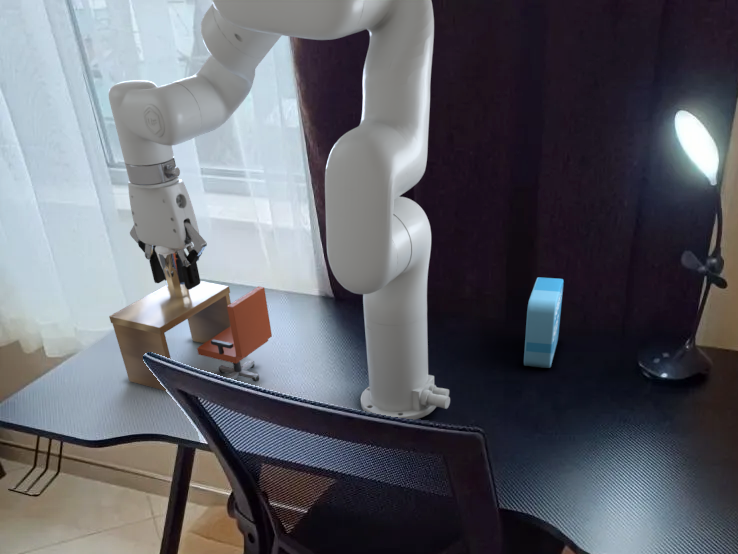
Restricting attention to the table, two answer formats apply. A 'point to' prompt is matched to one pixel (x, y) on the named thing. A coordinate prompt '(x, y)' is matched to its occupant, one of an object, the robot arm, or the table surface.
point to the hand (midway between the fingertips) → (177, 282)
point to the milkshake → (172, 271)
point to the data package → (543, 322)
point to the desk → (167, 324)
